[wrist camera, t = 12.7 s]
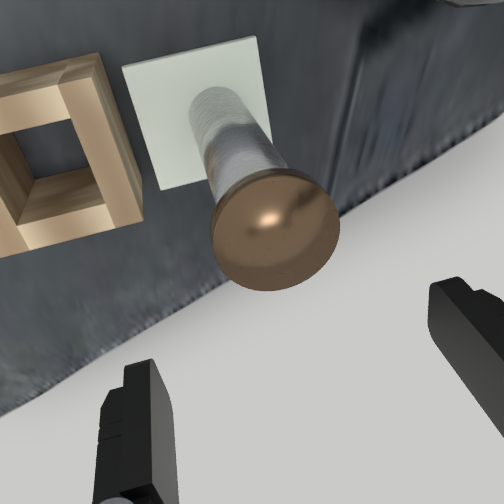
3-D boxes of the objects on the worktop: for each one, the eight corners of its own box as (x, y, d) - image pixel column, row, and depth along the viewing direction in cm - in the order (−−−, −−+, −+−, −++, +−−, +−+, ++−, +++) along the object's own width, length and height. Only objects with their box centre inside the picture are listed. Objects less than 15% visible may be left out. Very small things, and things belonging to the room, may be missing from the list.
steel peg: (247, 68, 28) (335, 164, 16) (260, 142, 31) (343, 272, 19) (170, 86, 28) (199, 199, 16) (189, 159, 31) (228, 304, 19)
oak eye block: (98, 52, 27) (91, 76, 22) (141, 177, 31) (143, 220, 26) (-44, 84, 26) (-84, 117, 21) (21, 207, 31) (0, 257, 26)
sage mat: (253, 35, 28) (256, 37, 28) (273, 158, 33) (275, 161, 32) (121, 66, 27) (121, 68, 27) (160, 186, 32) (160, 190, 32)
